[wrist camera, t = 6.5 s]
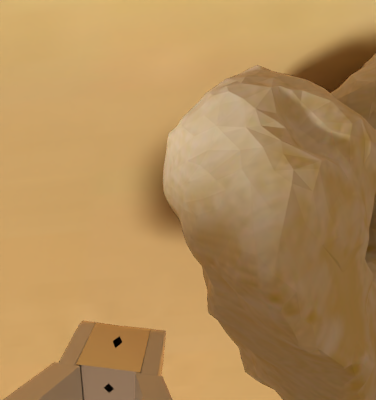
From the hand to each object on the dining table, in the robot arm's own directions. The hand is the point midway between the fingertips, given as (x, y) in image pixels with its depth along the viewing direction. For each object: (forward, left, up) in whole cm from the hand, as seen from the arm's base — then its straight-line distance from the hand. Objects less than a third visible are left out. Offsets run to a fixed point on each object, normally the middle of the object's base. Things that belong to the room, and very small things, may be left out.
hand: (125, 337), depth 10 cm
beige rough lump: (-2, +8, -5) cm, 10 cm away
